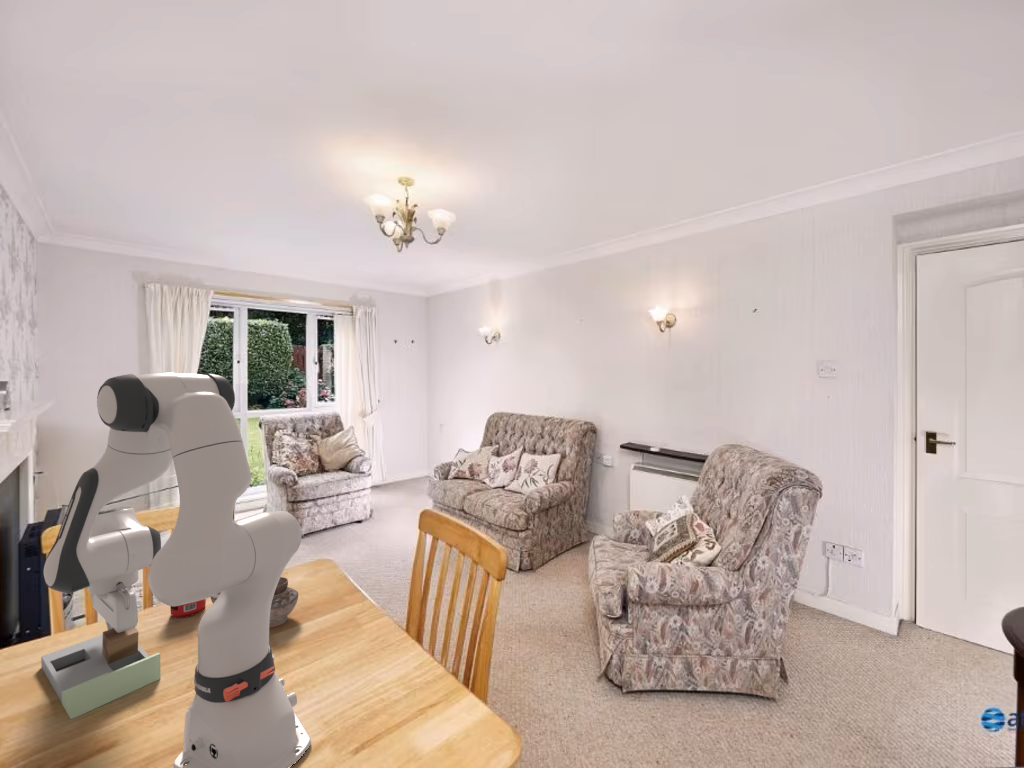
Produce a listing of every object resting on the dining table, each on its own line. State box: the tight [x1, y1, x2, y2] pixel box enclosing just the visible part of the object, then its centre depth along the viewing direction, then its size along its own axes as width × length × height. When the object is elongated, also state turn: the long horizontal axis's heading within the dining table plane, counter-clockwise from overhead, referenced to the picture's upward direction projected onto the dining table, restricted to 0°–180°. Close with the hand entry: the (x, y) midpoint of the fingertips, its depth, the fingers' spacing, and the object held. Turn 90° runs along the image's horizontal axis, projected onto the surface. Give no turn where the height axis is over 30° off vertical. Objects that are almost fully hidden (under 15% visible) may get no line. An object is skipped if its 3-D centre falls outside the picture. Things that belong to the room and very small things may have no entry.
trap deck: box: [40, 634, 161, 720], centre depth 98 cm, size 26×14×6 cm, turn 55°
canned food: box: [170, 599, 207, 619], centre depth 124 cm, size 8×8×11 cm
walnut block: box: [102, 627, 139, 664], centre depth 101 cm, size 5×5×5 cm
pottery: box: [210, 576, 299, 628], centre depth 121 cm, size 11×25×12 cm, turn 75°
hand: (114, 636), depth 103 cm, fingers closed
